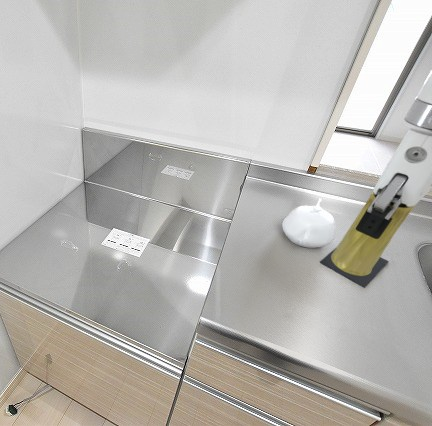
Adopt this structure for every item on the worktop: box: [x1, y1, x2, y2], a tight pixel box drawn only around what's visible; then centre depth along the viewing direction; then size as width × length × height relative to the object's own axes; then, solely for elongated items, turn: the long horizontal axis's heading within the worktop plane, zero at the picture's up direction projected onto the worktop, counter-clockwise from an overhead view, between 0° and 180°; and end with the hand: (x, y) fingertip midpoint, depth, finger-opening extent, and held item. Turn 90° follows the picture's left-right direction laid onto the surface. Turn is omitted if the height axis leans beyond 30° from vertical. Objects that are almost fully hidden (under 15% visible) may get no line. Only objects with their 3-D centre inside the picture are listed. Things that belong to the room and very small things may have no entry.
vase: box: [331, 191, 415, 276], centre depth 49 cm, size 6×6×14 cm
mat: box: [319, 247, 389, 289], centre depth 74 cm, size 10×14×1 cm
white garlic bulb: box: [281, 197, 336, 249], centre depth 80 cm, size 20×12×10 cm, turn 142°
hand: (374, 225), depth 48 cm, fingers closed on vase, 5 cm apart
